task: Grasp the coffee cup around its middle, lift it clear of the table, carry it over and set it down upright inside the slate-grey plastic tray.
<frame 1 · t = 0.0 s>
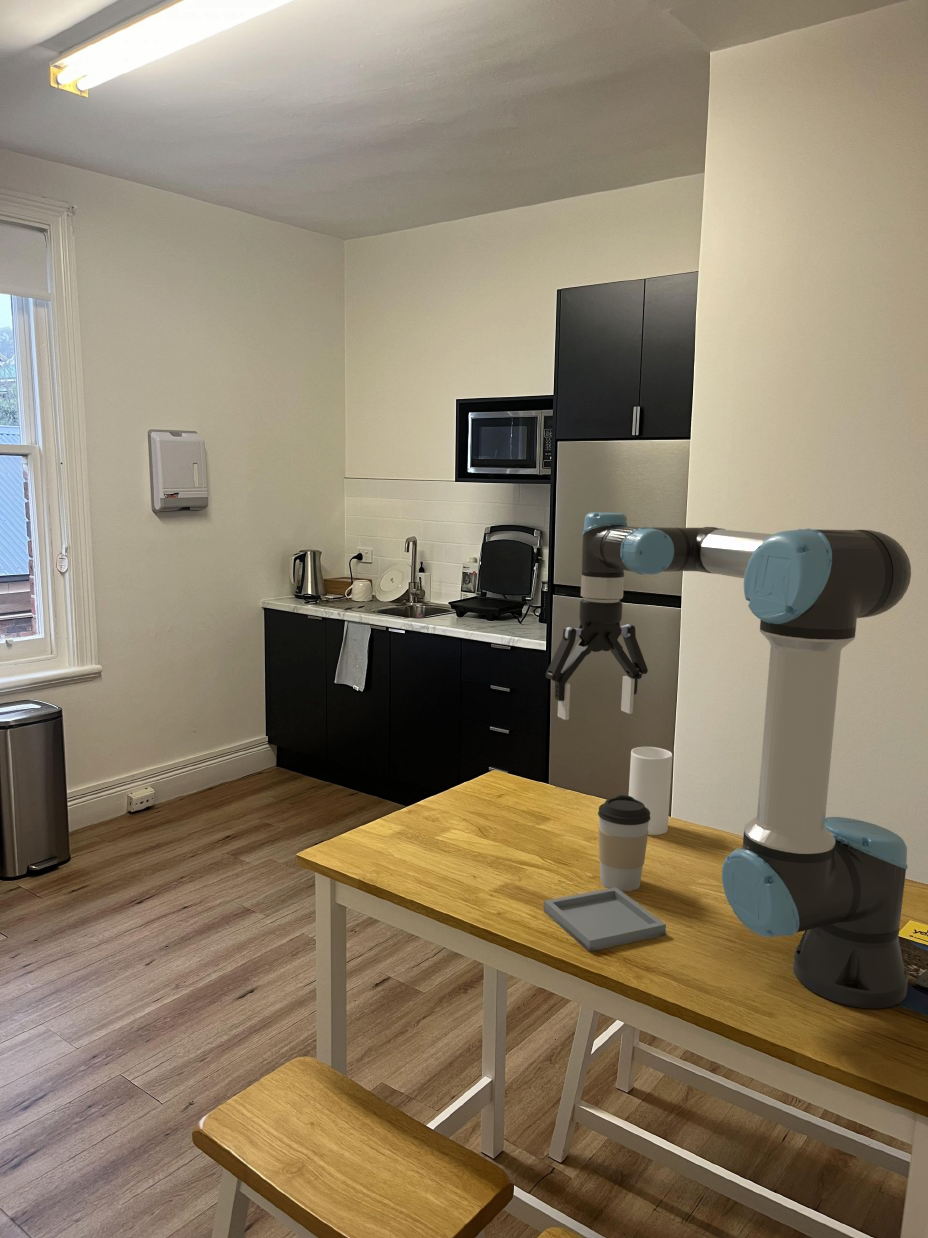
hand: (595, 715, 166), 28 cm above the table, fingers open, 13 cm apart
coffee cup: (620, 884, 161), on the table
cup: (647, 828, 187), on the table
tray: (603, 923, 146), on the table
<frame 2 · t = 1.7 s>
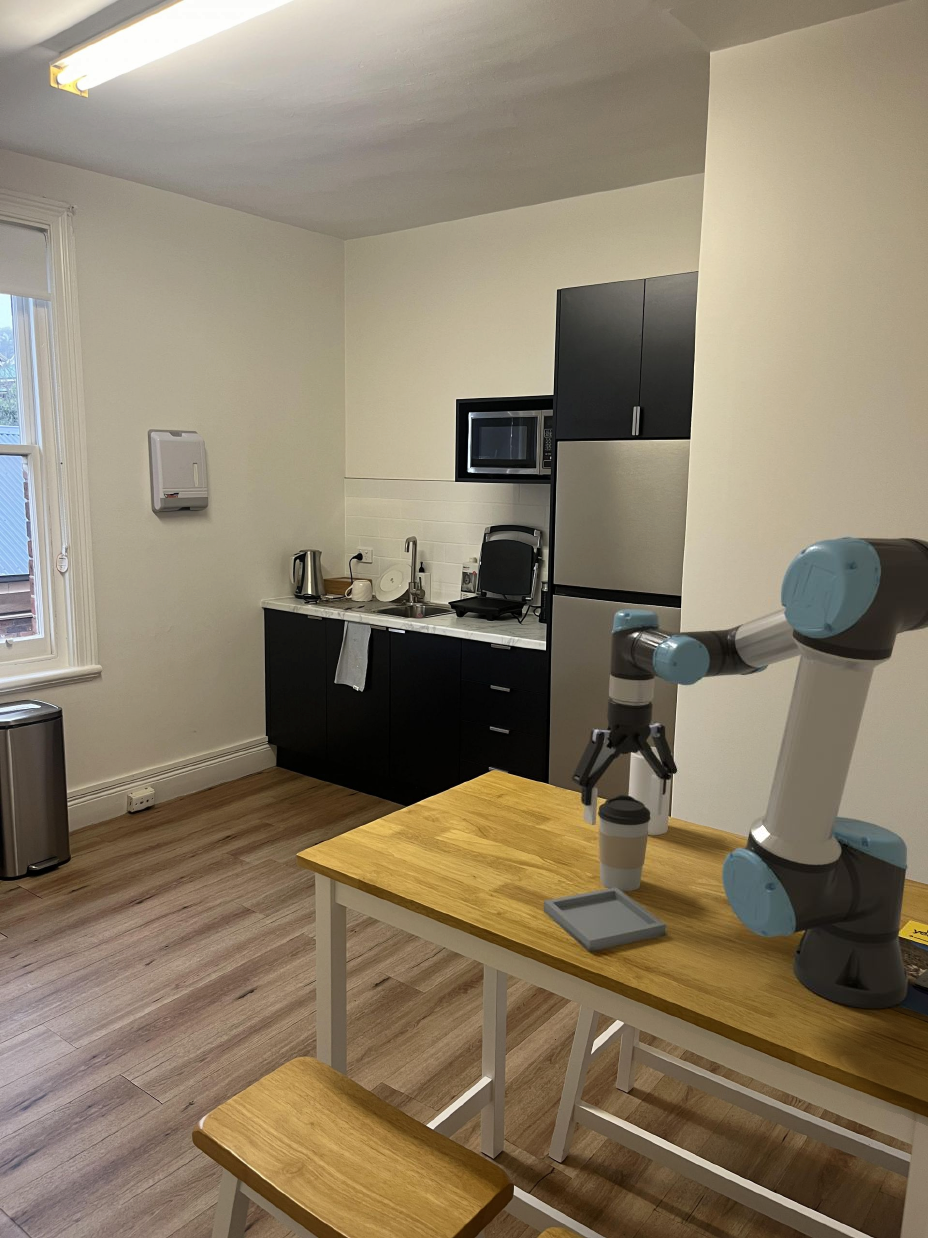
hand: (622, 817, 160), 12 cm above the table, fingers open, 13 cm apart
nothing on the table moved.
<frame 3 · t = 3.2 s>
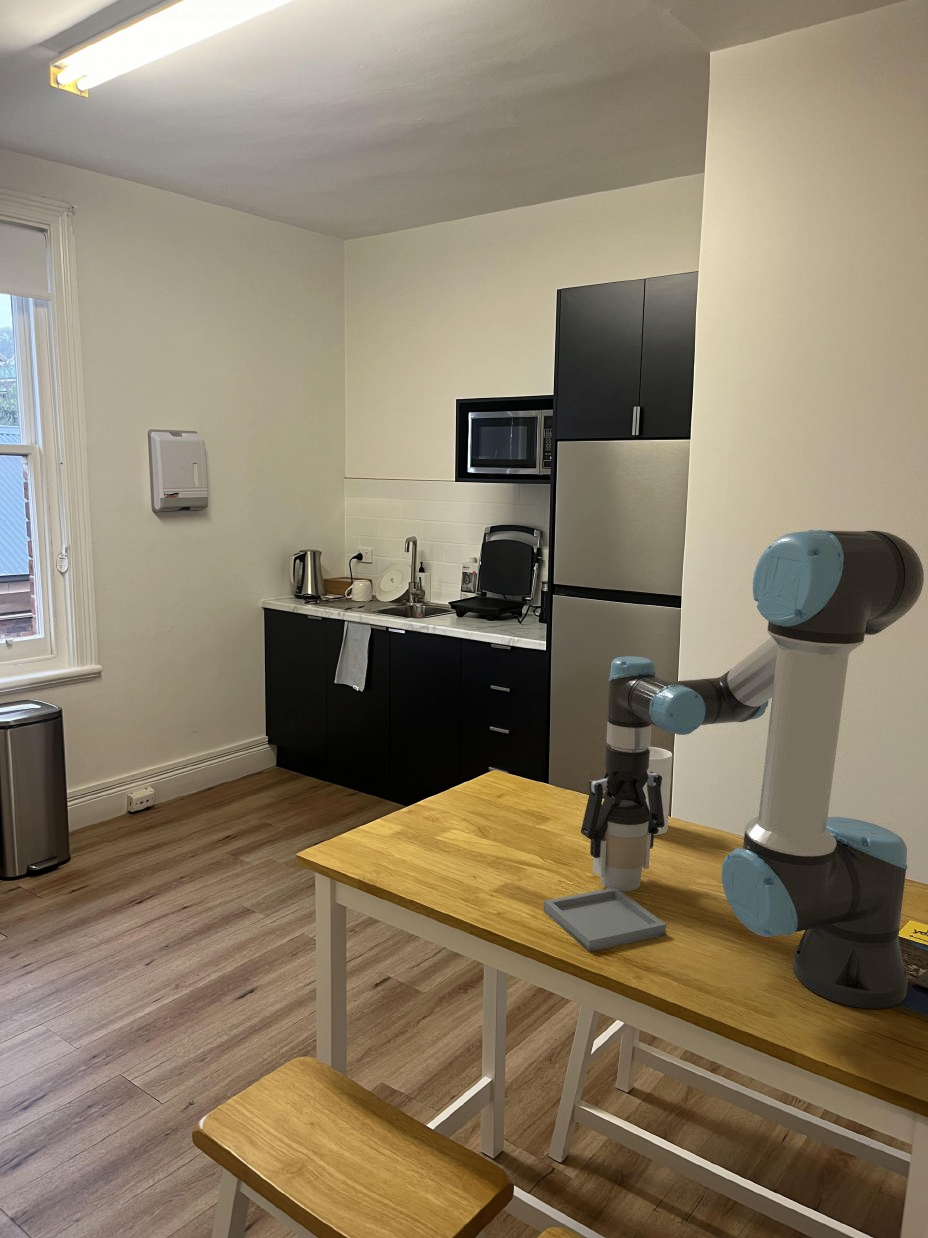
hand: (620, 869, 161), 2 cm above the table, fingers closed on coffee cup, 8 cm apart
coffee cup: (620, 883, 161), on the table, touching gripper
everything else where it was.
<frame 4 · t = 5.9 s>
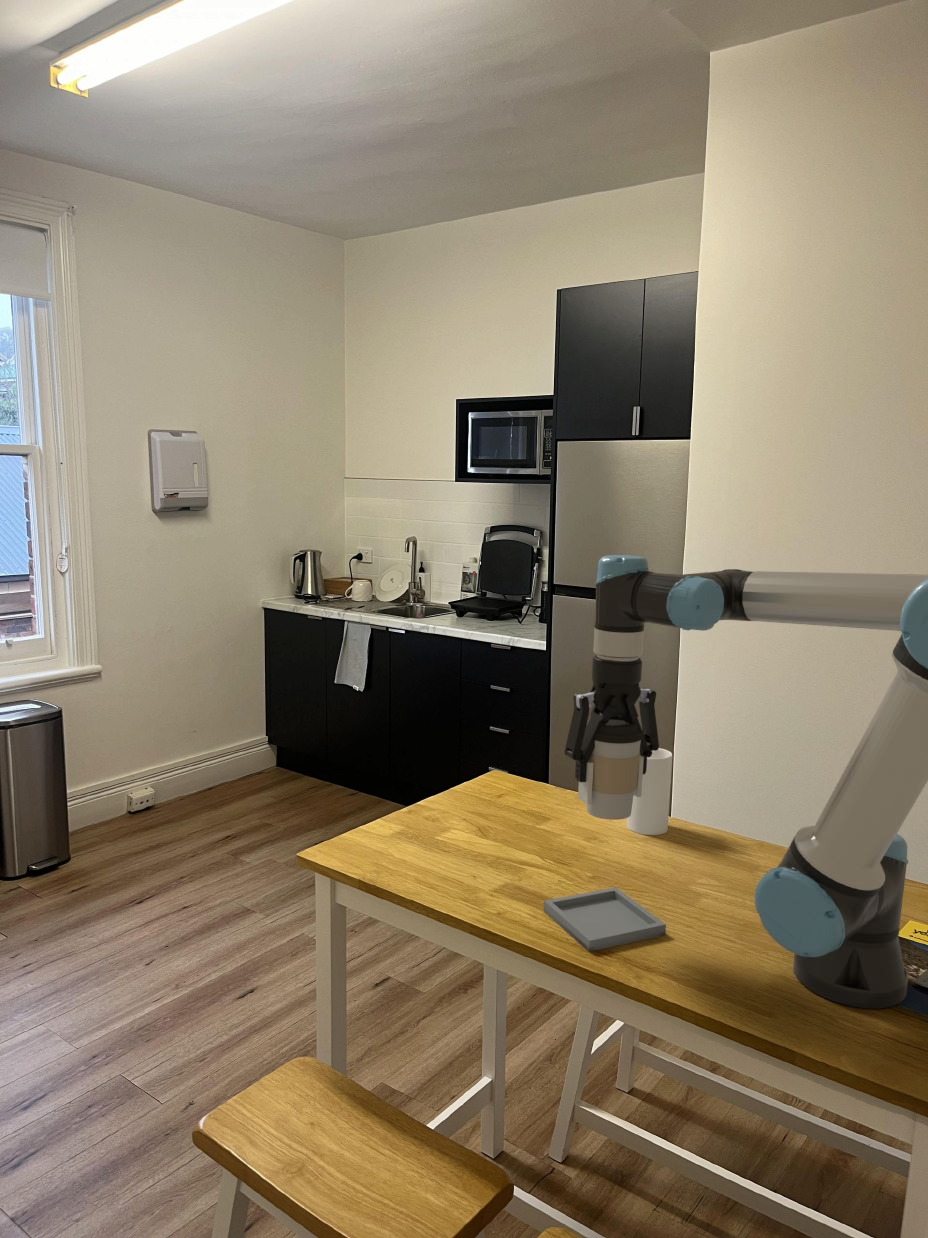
hand: (609, 797, 143), 21 cm above the table, fingers closed on coffee cup, 8 cm apart
coffee cup: (608, 813, 144), point 18 cm above the table, touching gripper
everything else where it was.
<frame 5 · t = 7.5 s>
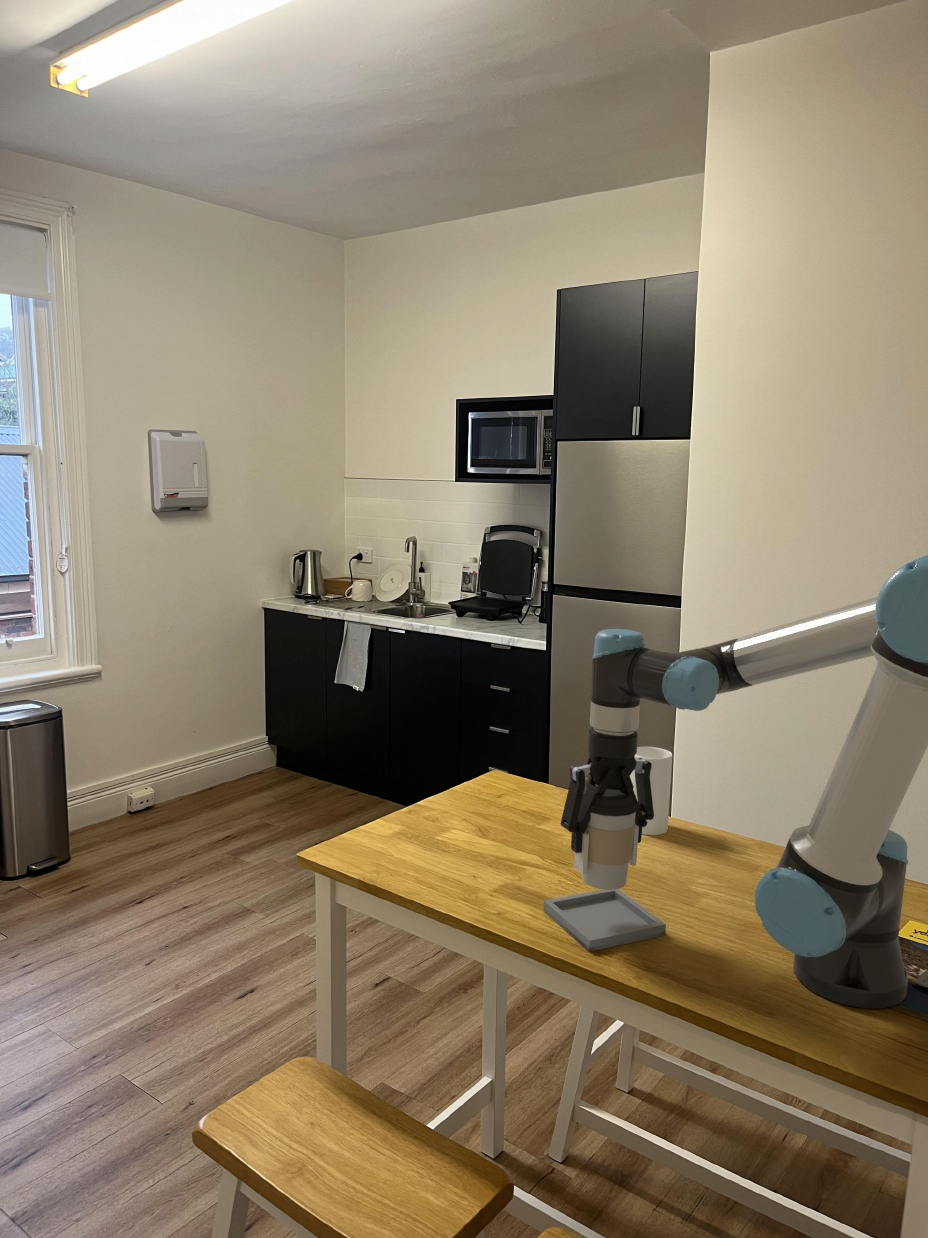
hand: (605, 866, 145), 10 cm above the table, fingers closed on coffee cup, 8 cm apart
coffee cup: (603, 881, 145), point 7 cm above the table, touching gripper
everything else where it was.
when the fingers open (4 cm above the table, at t = 8.9 s): coffee cup drops 1 cm, resting on tray.
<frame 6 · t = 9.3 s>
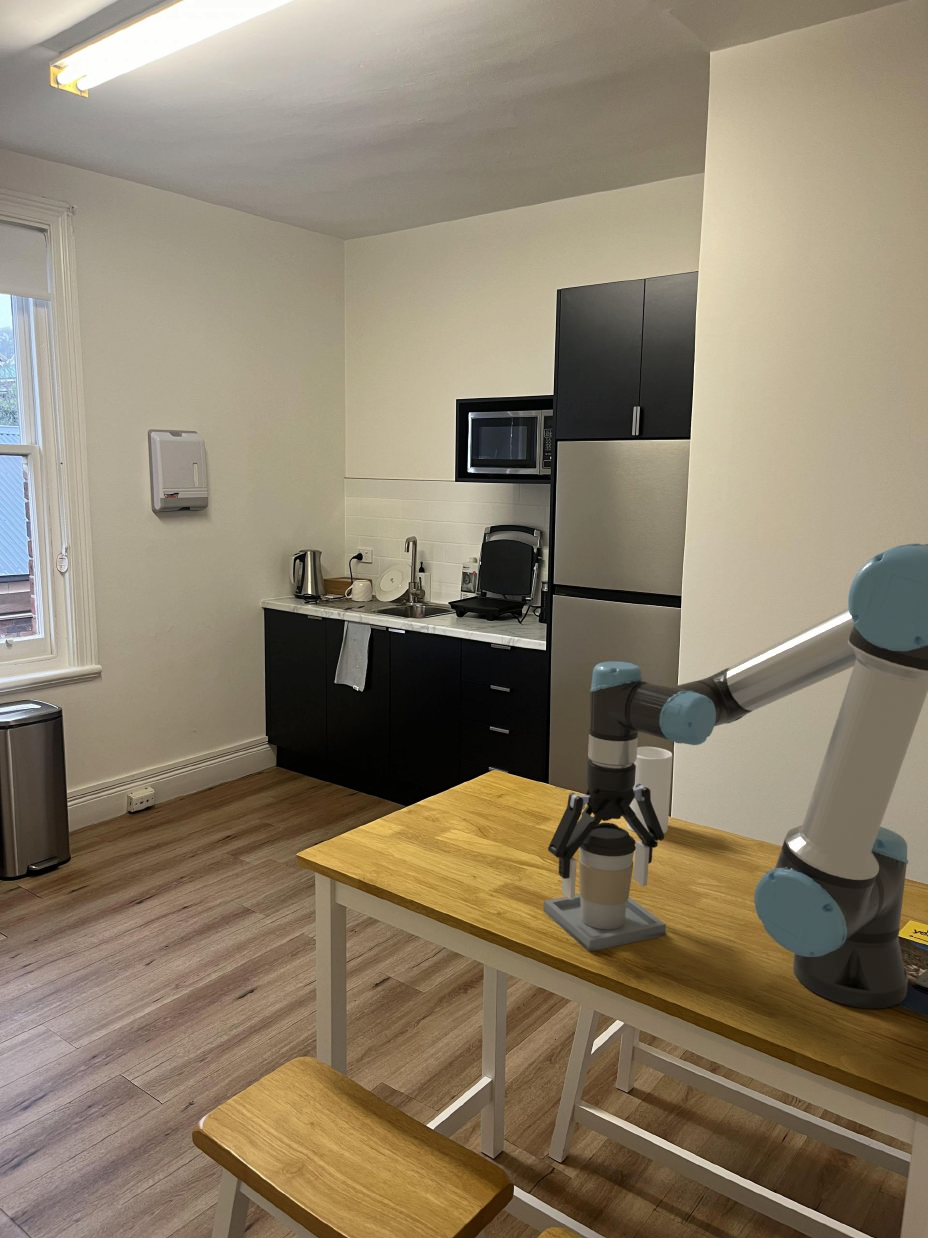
hand: (604, 889, 145), 6 cm above the table, fingers open, 13 cm apart
coffee cup: (602, 920, 146), resting on tray
everything else where it was.
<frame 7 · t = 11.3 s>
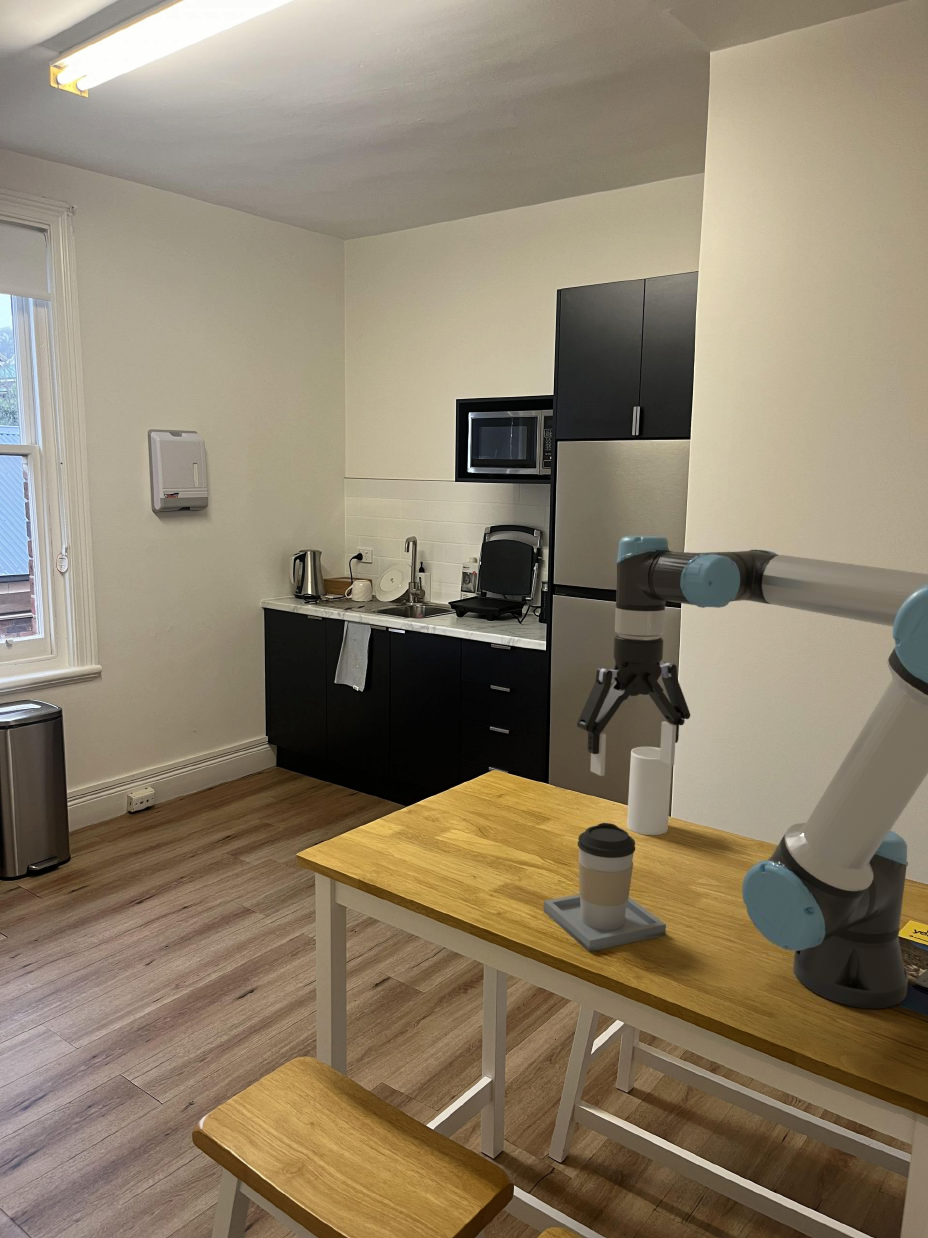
hand: (632, 768, 144), 25 cm above the table, fingers open, 13 cm apart
nothing on the table moved.
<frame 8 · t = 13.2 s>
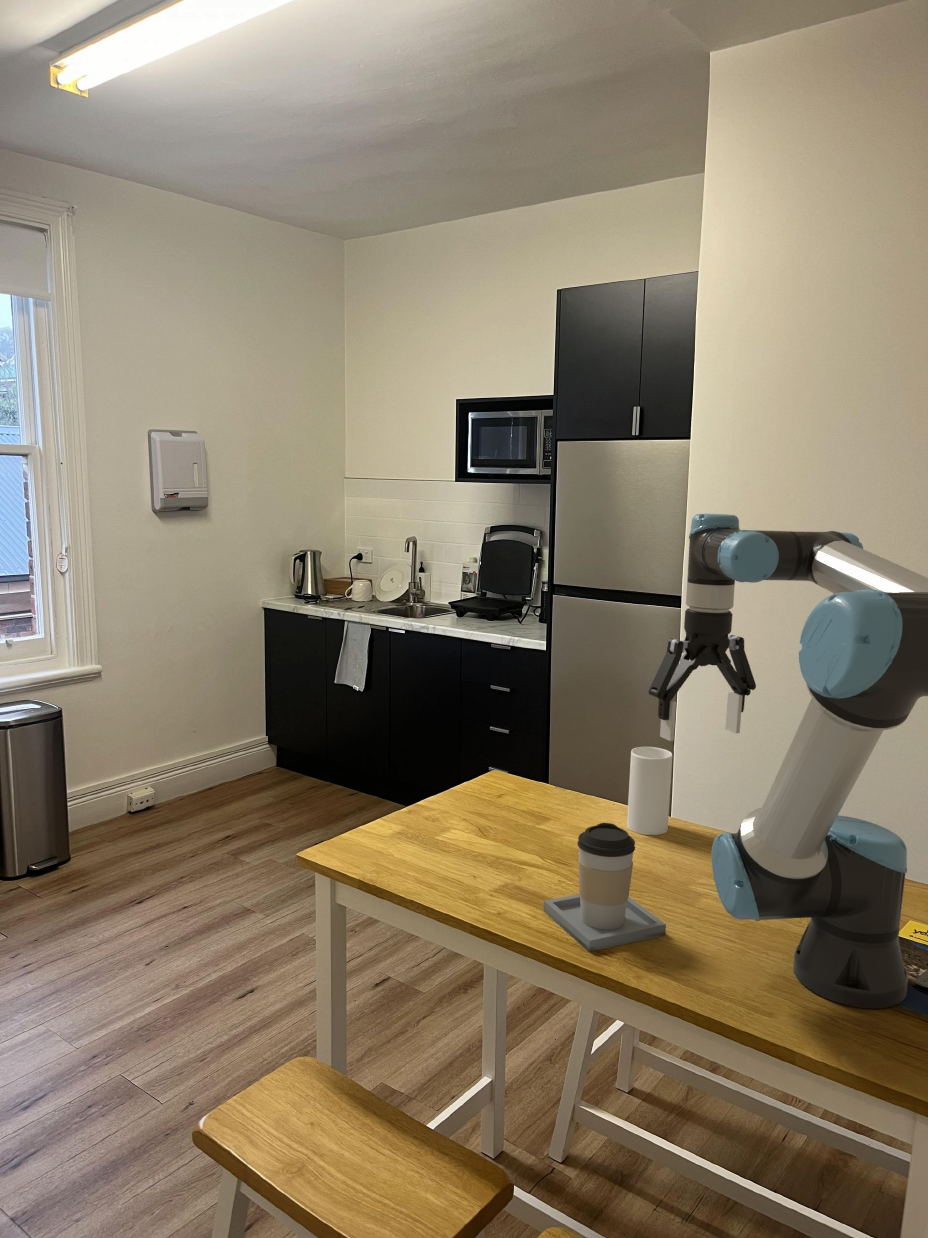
hand: (700, 735, 152), 29 cm above the table, fingers open, 13 cm apart
nothing on the table moved.
at the end: coffee cup inside the target area on the tray (0.2 cm from its centre), point 0.4 cm above the tray's base; coffee cup tilted 0°; the gripper is holding nothing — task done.
